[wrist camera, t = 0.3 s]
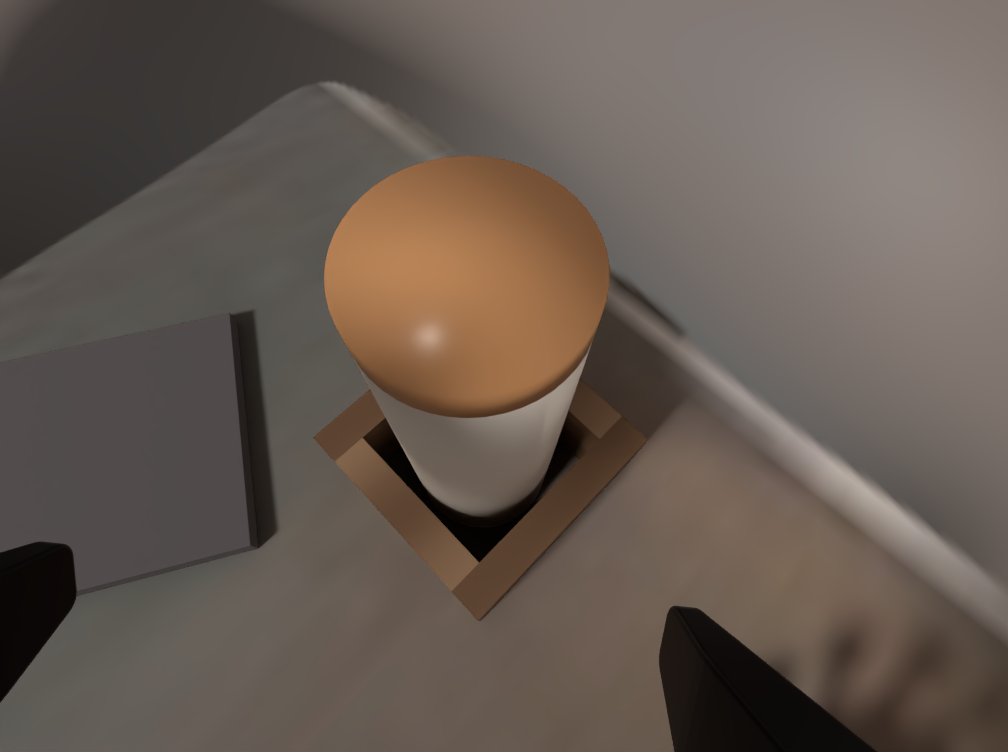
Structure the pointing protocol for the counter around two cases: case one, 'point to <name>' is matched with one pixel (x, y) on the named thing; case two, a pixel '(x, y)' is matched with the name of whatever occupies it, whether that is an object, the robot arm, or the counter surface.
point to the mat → (129, 452)
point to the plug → (470, 322)
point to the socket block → (480, 585)
